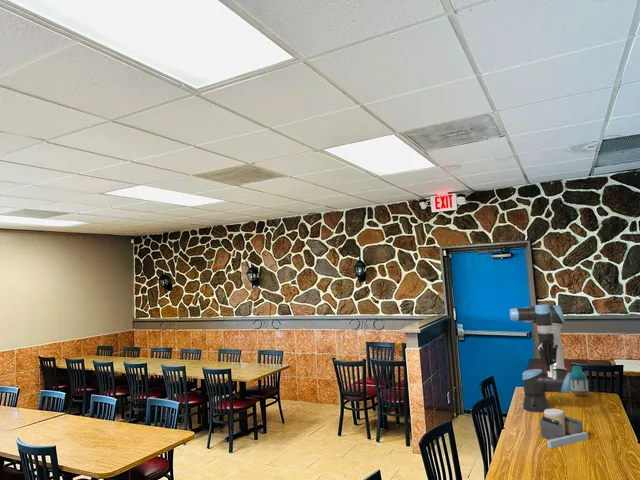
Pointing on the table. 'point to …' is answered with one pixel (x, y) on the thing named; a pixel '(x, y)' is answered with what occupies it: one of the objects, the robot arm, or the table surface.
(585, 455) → the table surface
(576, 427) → the block
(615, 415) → the table surface
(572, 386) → the vase
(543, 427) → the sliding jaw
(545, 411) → the coffee cup
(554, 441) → the back rail
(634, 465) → the table surface
